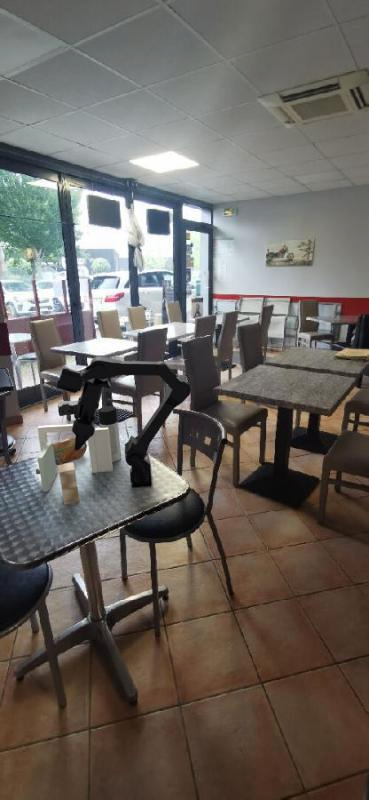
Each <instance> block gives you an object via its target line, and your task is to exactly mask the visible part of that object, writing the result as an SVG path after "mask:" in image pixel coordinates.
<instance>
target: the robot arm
mask: <svg viewBox="0 0 369 800" xmlns="http://www.w3.org/2000/svg"><path fill="white" fill-rule="evenodd" d="M118 376H155V377H157V376H158V377H160V378H161V379H162V380H163V381H164V382H165V383H166V385H167V388H166V390H165V392H164V397H163V398H162V399H163V400H162V401H161V403H160V404H159V405H158V407H157V408H156V410H155V411H154V412H153V414H152V416H151V417H150V418H149V420H148V422H147V423H146V424H145V425H144V427H143V428H142V430H141V432H140V433H139V434H137V436H134V435H131V436H130V437H129V439H128V441H127V442H126V443H125V444H124V457H125V458H124V459H125V463H126V464H127V465H128V466H130V467H131V468H130V469H129V478H130V483H131V488H146V487H147V488H149V487H151V488H152V487H153V475H152V473H153V472H152V463H151V460H150V456H149V455H150V454H149V453H148V450H149V446H150V444H151V443H152V441H153V440H154V438H155V437H156V435H157V434H158V433H159V431H160V430H161V428H162V427H163V425H164V424H165V422H166V421H167V420H168V418H169V416H170V415H171V414H172V412H173V411H174V410H175V408H177V407H179V406H180V405H181V404H183V402H184V401H186V400H187V399H188V398H189V396H190V394H191V391H192V389H191V386H190V385H189V382H188V381H187V380H186V378H184V377H183V376H179V375H177V373H175V371H173V370H172V368H170V367H169V366H168V364H167V362H165V361H162V360H160V361H143V360H142V361H137V360H136V361H135V360H118V359H114V358H111V357H107V356H103V355H101V356H100V355H98V356H95V357H94V358H92V359H91V361H90V363H89V365H87V366H86V367H85V368H83V369H81V371H79V370H75V369H72V368H69V367H67V366H63V367H62V368H61V373H60V375H59V378H58V381H57V384H56V388H55V389H56V390H60V391H63V392H67V393H71V394H75V395H76V393H78V392H81V395H80V396H79V397H78V400H65V401H64V400H63V401H58V403H57V409H58V410H57V412H58V416H60V417H64V416H72V415H73V418H74V420H73V423H72V424H73V426H72V431H71V433H74V435H75V437H76V438H75V450H77V451H78V450H79V449H80V448H81V447H82V446H83V445H84V444H85V442H86V443H87V442H88V439H89V438H90V437H92V436H93V435H94V431H95V428H96V427H95V426H96V425H95V423H94V422H95V421H96V415H97V413H98V409H100V408H99V407H100V401H101V397H102V395H103V391H104V388H105V389H107V390H108V389H111V383H110V382H109V380H108V379H111V378H112V379H113V378H115V377H118ZM83 383H84V384H83ZM82 385H83V386H82ZM81 389H82V391H81Z"/></svg>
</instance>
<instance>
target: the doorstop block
mask: <svg viewBox="0 0 369 800" xmlns="http://www.w3.org/2000/svg"><path fill="white" fill-rule="evenodd" d="M57 468H58V474H59V479H60V480H59V481H60V486H61V487H60V488H61V493H62V499H63V503H64V505H67V504H69V505H70V504H73V503H77V502H80V494H79V489H78V483H77V475H76V468H75V465H74V462H73V461H71V462H68V463H65V464H62V465H58V466H57Z"/></svg>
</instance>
